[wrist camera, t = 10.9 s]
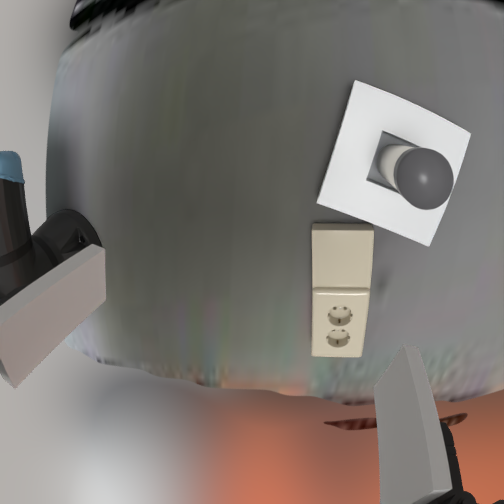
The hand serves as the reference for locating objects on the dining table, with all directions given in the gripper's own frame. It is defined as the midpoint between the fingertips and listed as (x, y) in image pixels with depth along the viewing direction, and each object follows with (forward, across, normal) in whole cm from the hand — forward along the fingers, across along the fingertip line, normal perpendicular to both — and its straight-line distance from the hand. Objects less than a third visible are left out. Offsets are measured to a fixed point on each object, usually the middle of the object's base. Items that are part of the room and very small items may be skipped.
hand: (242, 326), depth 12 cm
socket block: (+26, +10, +7) cm, 29 cm away
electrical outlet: (+26, +10, -10) cm, 30 cm away
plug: (+25, +10, +7) cm, 28 cm away
